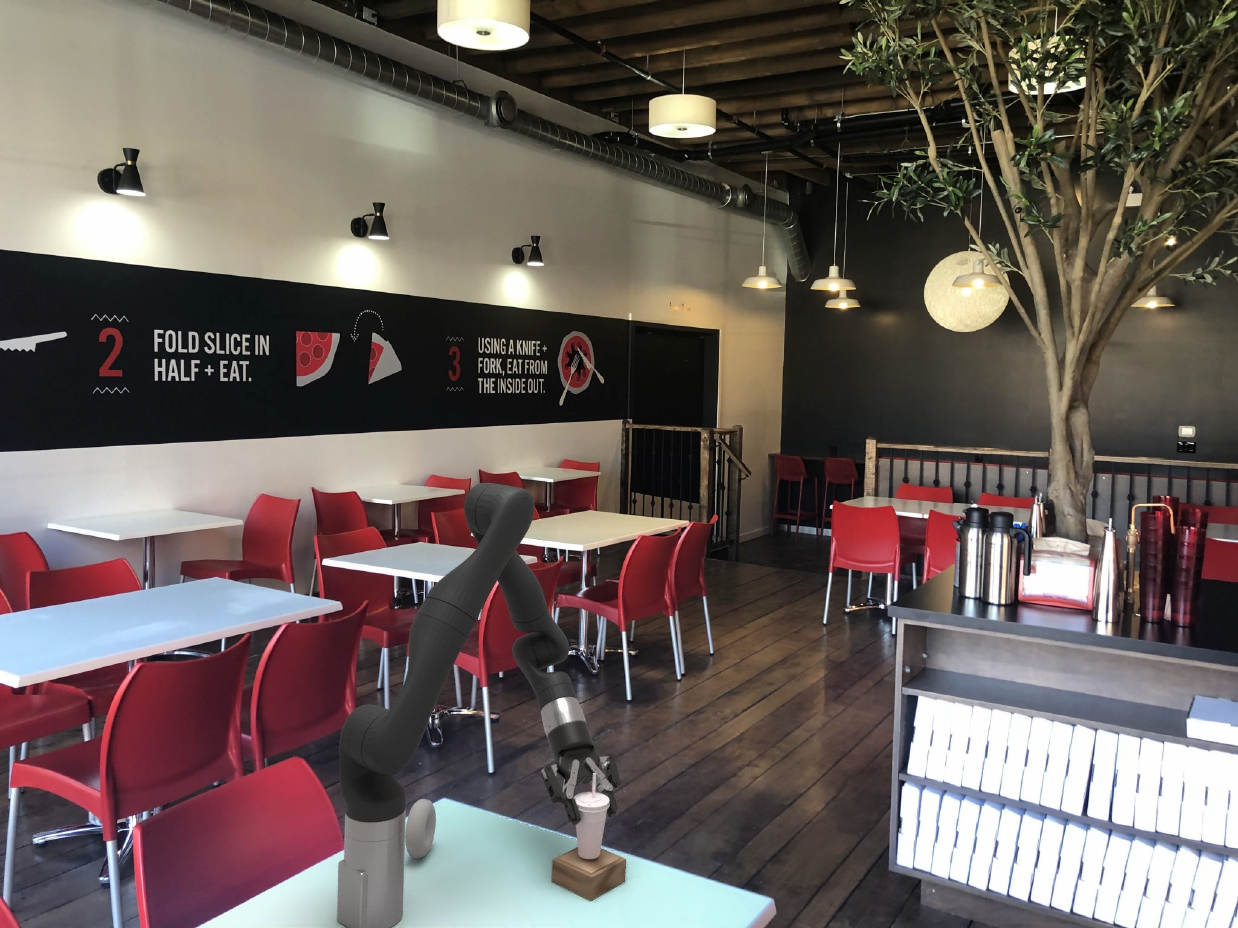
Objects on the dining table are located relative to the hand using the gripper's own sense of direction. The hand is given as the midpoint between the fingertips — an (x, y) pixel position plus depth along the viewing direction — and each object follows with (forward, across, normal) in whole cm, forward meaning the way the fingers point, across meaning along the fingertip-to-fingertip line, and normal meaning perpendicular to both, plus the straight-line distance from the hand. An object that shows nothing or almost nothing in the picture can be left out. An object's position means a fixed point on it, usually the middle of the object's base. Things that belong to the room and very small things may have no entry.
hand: (595, 818), depth 160 cm
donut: (-8, -23, +25) cm, 35 cm away
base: (+7, 0, +9) cm, 12 cm away
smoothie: (+4, 0, +6) cm, 7 cm away
